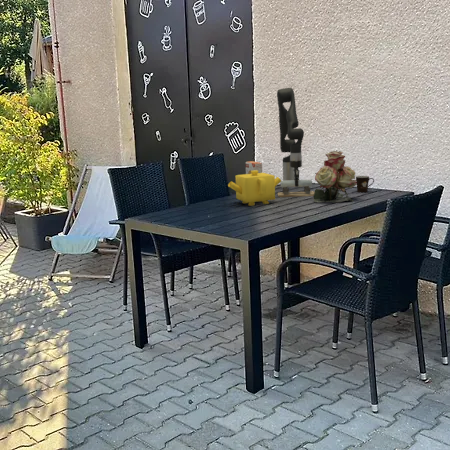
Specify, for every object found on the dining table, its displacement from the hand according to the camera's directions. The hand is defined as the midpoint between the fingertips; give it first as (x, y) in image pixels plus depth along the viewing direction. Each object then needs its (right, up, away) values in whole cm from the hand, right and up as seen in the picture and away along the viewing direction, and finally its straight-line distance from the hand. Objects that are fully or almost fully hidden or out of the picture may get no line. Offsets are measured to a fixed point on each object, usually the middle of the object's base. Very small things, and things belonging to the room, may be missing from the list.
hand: (296, 185), depth 382 cm
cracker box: (-26, -4, +19) cm, 33 cm away
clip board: (0, -6, +1) cm, 6 cm away
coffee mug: (+45, -4, +3) cm, 46 cm away
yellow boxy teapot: (-28, -12, -19) cm, 36 cm away
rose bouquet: (+22, -10, -20) cm, 31 cm away
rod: (0, +2, 0) cm, 2 cm away
